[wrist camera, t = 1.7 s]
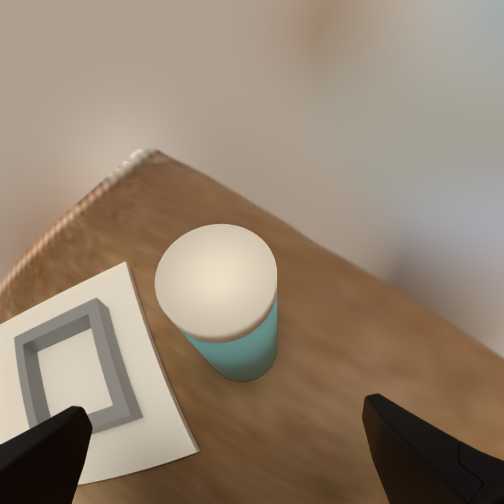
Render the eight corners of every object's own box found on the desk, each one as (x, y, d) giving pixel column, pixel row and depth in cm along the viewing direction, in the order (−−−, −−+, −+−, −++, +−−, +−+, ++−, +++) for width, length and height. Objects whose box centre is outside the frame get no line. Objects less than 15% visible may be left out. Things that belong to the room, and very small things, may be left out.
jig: (200, 451, 17) (188, 454, 15) (22, 492, 14) (-1, 492, 11) (130, 267, 25) (115, 248, 23) (-9, 336, 22) (-29, 325, 20)
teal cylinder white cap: (237, 395, 19) (201, 360, 10) (195, 344, 22) (135, 269, 12) (291, 350, 21) (303, 277, 12) (246, 304, 23) (225, 206, 14)
